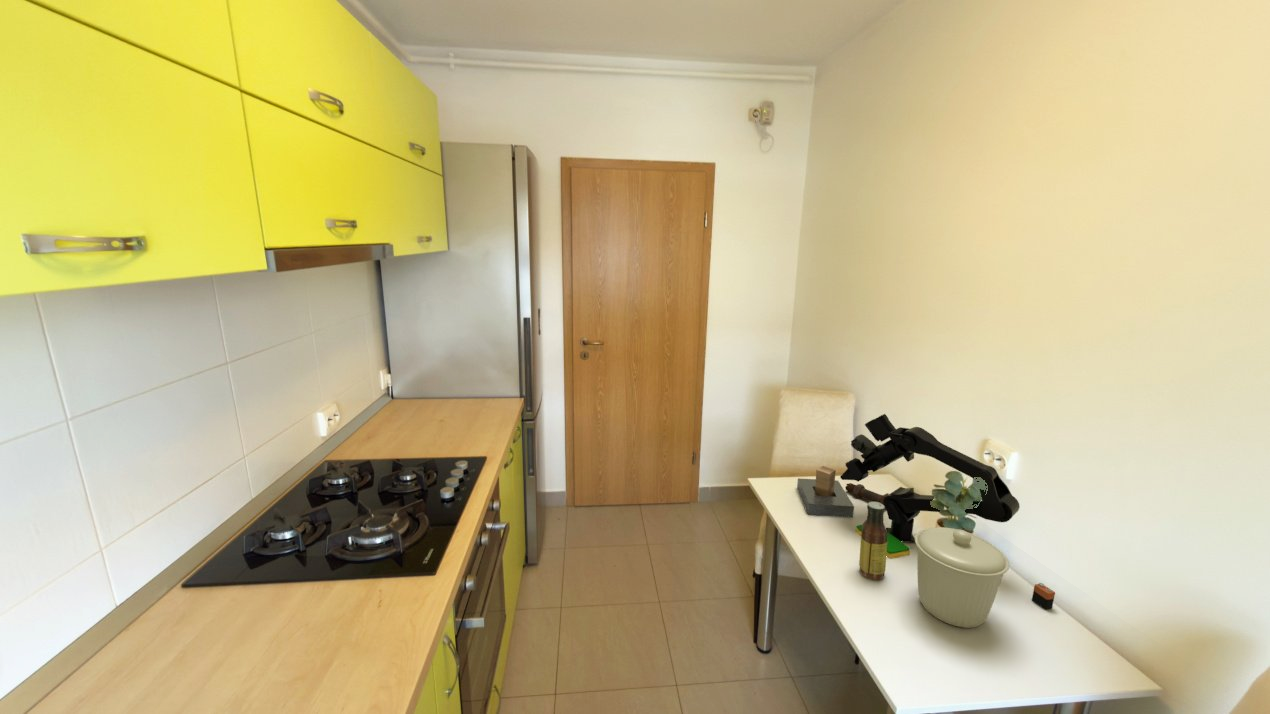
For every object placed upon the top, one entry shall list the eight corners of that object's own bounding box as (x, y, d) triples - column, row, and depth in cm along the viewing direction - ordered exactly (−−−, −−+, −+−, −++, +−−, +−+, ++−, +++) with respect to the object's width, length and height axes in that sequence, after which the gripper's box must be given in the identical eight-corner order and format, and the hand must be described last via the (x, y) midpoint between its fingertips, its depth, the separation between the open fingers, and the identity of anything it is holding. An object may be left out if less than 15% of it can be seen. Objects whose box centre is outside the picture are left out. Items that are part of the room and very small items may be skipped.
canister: (1003, 610, 112) (1018, 531, 108) (990, 655, 100) (1006, 567, 95) (918, 575, 125) (928, 502, 120) (897, 611, 112) (907, 531, 108)
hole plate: (853, 517, 152) (854, 506, 151) (808, 514, 154) (809, 503, 153) (837, 490, 170) (838, 480, 169) (797, 488, 171) (797, 478, 171)
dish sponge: (874, 529, 147) (875, 522, 146) (909, 556, 133) (910, 548, 133) (854, 532, 145) (855, 525, 144) (888, 560, 132) (889, 552, 131)
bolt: (848, 495, 170) (889, 513, 158) (841, 492, 167) (882, 509, 155) (853, 480, 171) (895, 496, 158) (846, 477, 168) (888, 493, 155)
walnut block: (826, 506, 159) (829, 474, 156) (813, 501, 162) (816, 469, 160) (832, 502, 162) (835, 470, 159) (820, 497, 165) (823, 465, 163)
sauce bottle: (887, 572, 126) (895, 505, 122) (880, 584, 121) (888, 514, 117) (861, 562, 130) (868, 496, 126) (853, 573, 126) (861, 505, 121)
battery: (1038, 599, 116) (1041, 581, 115) (1052, 608, 113) (1056, 590, 112) (1030, 600, 115) (1034, 582, 114) (1045, 610, 112) (1048, 592, 111)
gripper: (884, 423, 151) (848, 445, 162) (854, 437, 140) (818, 459, 151) (907, 454, 146) (868, 474, 157) (878, 471, 135) (839, 491, 146)
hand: (848, 474), depth 153 cm, fingers open, 9 cm apart
